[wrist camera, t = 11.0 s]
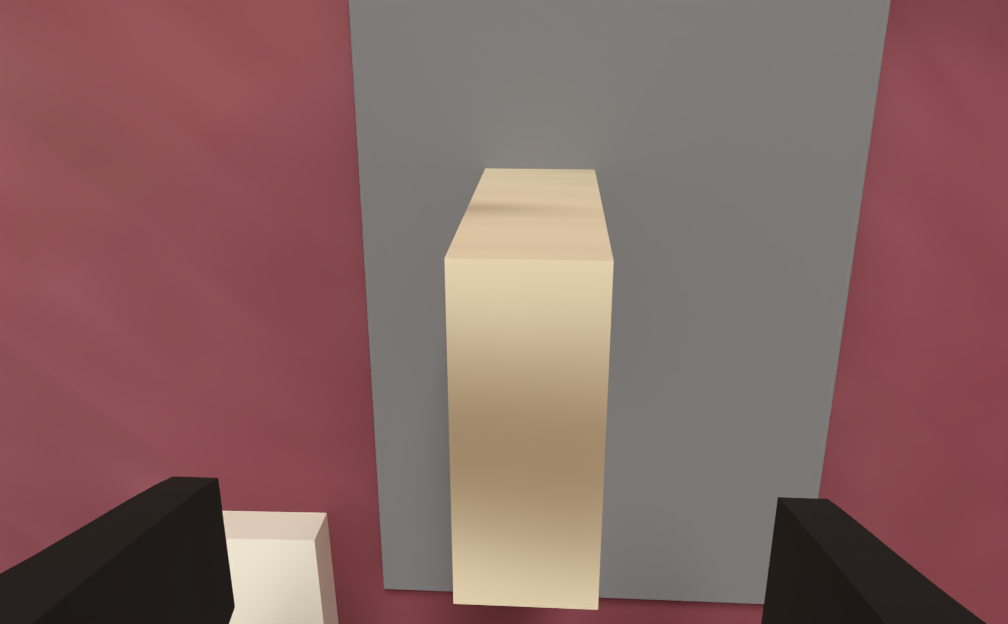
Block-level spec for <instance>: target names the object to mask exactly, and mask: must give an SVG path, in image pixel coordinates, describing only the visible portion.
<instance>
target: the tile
mask: <svg viewBox="0 0 1008 624" xmlns="http://www.w3.org/2000/svg"><path fill="white" fill-rule="evenodd" d="M222 512H223V520H224V527H225V535H226V543H227V550H228V558H229V565H230V573H231V581H232V588H233V596H234V604H235V608H234V611H233V614H232V617H231V620H230V623H229V624H338V615H337V605H336V595H335V586H334V576H333V567H332V557H331V548H330V538H329V529H328V519H327V513H305V512H255V511H222Z"/></svg>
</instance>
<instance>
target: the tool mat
mask: <svg viewBox="0 0 1008 624" xmlns="http://www.w3.org/2000/svg"><path fill="white" fill-rule="evenodd" d="M890 1H891V0H349V13H350V30H351V46H352V63H353V80H354V96H355V113H356V130H357V146H358V163H359V180H360V196H361V213H362V230H363V246H364V263H365V280H366V296H367V313H368V329H369V346H370V363H371V379H372V396H373V413H374V429H375V446H376V463H377V479H378V496H379V513H380V529H381V546H382V563H383V579H384V589H402V590H427V591H451V592H453V565H452V527H451V489H450V451H449V413H448V375H447V337H446V299H445V261H444V258H445V256H446V254H447V251H448V249H449V247H450V245H451V243H452V240H453V238H454V236H455V234H456V232H457V230H458V227H459V225H460V223H461V221H462V219H463V216H464V214H465V212H466V210H467V208H468V205H469V203H470V201H471V199H472V197H473V194H474V192H475V190H476V188H477V186H478V183H479V181H480V179H481V177H482V175H483V172H484V170H485V168H494V169H590V170H595V173H596V178H597V182H598V187H599V192H600V197H601V202H602V207H603V212H604V216H605V221H606V226H607V231H608V236H609V241H610V246H611V250H612V255H613V260H614V265H613V287H612V309H611V332H610V354H609V376H608V398H607V421H606V443H605V465H604V487H603V509H602V532H601V554H600V576H599V597H601V598H626V599H650V600H675V601H700V602H725V603H750V604H764V600H765V592H766V585H767V577H768V569H769V561H770V554H771V546H772V538H773V530H774V523H775V515H776V507H777V499H778V497H787V498H816V499H818V495H819V488H820V481H821V475H822V468H823V461H824V454H825V447H826V440H827V433H828V426H829V420H830V413H831V406H832V399H833V392H834V385H835V378H836V372H837V365H838V358H839V351H840V344H841V337H842V330H843V324H844V317H845V310H846V303H847V296H848V289H849V282H850V276H851V269H852V262H853V255H854V248H855V241H856V234H857V227H858V221H859V214H860V207H861V200H862V193H863V186H864V179H865V173H866V166H867V159H868V152H869V145H870V138H871V131H872V125H873V118H874V111H875V104H876V97H877V90H878V83H879V77H880V70H881V63H882V56H883V49H884V42H885V35H886V28H887V22H888V15H889V8H890Z"/></svg>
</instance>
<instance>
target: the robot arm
mask: <svg viewBox="0 0 1008 624" xmlns="http://www.w3.org/2000/svg"><path fill="white" fill-rule="evenodd" d="M234 608H235V604H234V596H233V588H232V581H231V573H230V565H229V558H228V550H227V543H226V535H225V527H224V520H223V512H222V504H221V497H220V489H219V482H218V478H200V477H171V478H169V479H167V480H165V481H162V482H160V483H158V484H156V485H154V486H153V487H151V488H149V489H147V490H145V491H143V492H142V493H140V494H138V495H136V496H135V497H133V498H131V499H129V500H128V501H126V502H124V503H122V504H121V505H119V506H117V507H116V508H114V509H112V510H110V511H109V512H107V513H105V514H104V515H102V516H100V517H99V518H97V519H95V520H94V521H92V522H90V523H88V524H87V525H85V526H83V527H82V528H80V529H78V530H77V531H75V532H73V533H71V534H70V535H68V536H66V537H65V538H63V539H61V540H59V541H58V542H56V543H54V544H53V545H51V546H49V547H48V548H46V549H44V550H42V551H41V552H39V553H37V554H36V555H34V556H32V557H30V558H29V559H27V560H25V561H23V562H21V563H19V564H17V565H16V566H14V567H12V568H10V569H8V570H6V571H5V572H3V573H1V574H0V624H229V623H230V620H231V617H232V614H233V611H234ZM761 624H986V623H985V622H983V621H982V620H981V619H979V618H978V617H977V616H975V615H974V614H973V613H971V612H970V611H969V610H967V609H966V608H965V607H963V606H962V605H961V604H959V603H958V602H957V601H955V600H954V599H953V598H951V597H950V596H949V595H948V594H946V593H945V592H944V591H942V590H941V589H940V588H939V587H937V586H936V585H935V584H933V583H932V582H931V581H930V580H928V579H927V578H926V577H925V576H923V575H922V574H921V573H920V572H918V571H917V570H916V569H915V568H913V567H912V566H911V565H910V564H908V563H907V562H906V561H905V560H903V559H902V558H901V557H900V556H898V555H897V554H896V553H895V552H894V551H892V550H891V549H890V548H889V547H887V546H886V545H885V544H884V543H883V542H881V541H880V540H879V539H878V538H876V537H875V536H874V535H873V534H872V533H870V532H869V531H868V530H867V529H865V528H864V527H863V526H862V525H861V524H859V523H858V522H857V521H856V520H854V519H853V518H852V517H851V516H849V515H848V514H847V513H846V512H844V511H843V510H842V509H841V508H839V507H838V506H837V505H835V504H834V503H832V502H831V501H830V500H828V499H816V498H787V497H778V499H777V507H776V515H775V523H774V530H773V538H772V546H771V554H770V561H769V569H768V577H767V585H766V592H765V600H764V608H763V616H762V623H761Z"/></svg>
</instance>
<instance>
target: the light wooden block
mask: <svg viewBox="0 0 1008 624" xmlns="http://www.w3.org/2000/svg"><path fill="white" fill-rule="evenodd" d="M444 261H445V299H446V337H447V375H448V413H449V451H450V489H451V527H452V565H453V603H454V604H471V605H496V606H520V607H544V608H569V609H593V610H598V598H599V576H600V554H601V532H602V509H603V487H604V465H605V443H606V421H607V398H608V376H609V354H610V332H611V309H612V287H613V265H614V260H613V255H612V250H611V246H610V241H609V236H608V231H607V226H606V221H605V216H604V212H603V207H602V202H601V197H600V192H599V187H598V182H597V178H596V173H595V170H590V169H494V168H485V170H484V172H483V175H482V177H481V179H480V181H479V183H478V186H477V188H476V190H475V192H474V194H473V197H472V199H471V201H470V203H469V205H468V208H467V210H466V212H465V214H464V216H463V219H462V221H461V223H460V225H459V227H458V230H457V232H456V234H455V236H454V238H453V240H452V243H451V245H450V247H449V249H448V251H447V254H446V256H445V258H444Z"/></svg>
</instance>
